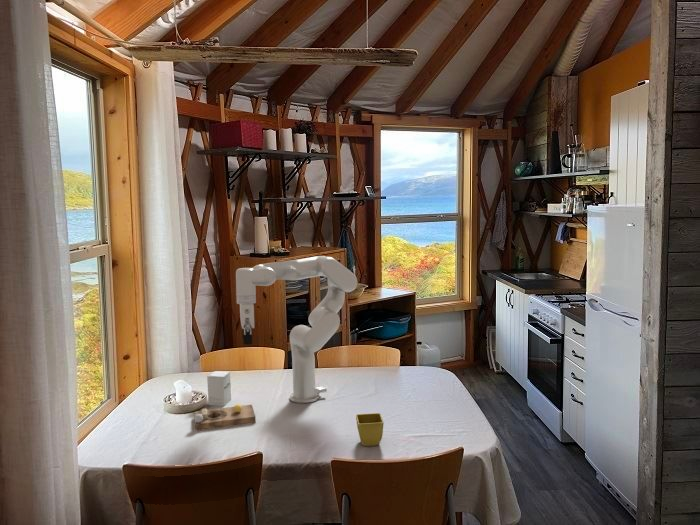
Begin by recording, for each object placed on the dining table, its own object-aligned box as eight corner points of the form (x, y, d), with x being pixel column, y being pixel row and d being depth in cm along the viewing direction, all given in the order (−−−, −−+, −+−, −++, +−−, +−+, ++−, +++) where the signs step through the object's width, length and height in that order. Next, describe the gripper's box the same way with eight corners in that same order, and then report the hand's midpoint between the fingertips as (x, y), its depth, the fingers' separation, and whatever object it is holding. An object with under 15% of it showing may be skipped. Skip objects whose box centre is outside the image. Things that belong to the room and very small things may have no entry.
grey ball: (203, 420, 204) (202, 412, 204) (203, 423, 201) (202, 415, 201) (194, 421, 203) (193, 413, 203) (194, 424, 200) (194, 416, 200)
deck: (252, 410, 219) (251, 399, 219) (255, 422, 207) (255, 411, 206) (195, 417, 213) (195, 406, 213) (195, 430, 201) (195, 419, 200)
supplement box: (224, 406, 225) (223, 376, 223) (208, 405, 226) (206, 376, 225) (231, 399, 232) (230, 371, 230) (215, 398, 233) (214, 370, 232)
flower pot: (356, 438, 192) (355, 413, 191) (380, 436, 192) (380, 412, 191) (358, 449, 183) (358, 424, 182) (384, 448, 184) (383, 422, 183)
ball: (241, 410, 213) (241, 402, 213) (242, 413, 210) (242, 405, 210) (233, 411, 212) (233, 403, 212) (234, 414, 209) (233, 406, 209)
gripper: (257, 302, 207) (258, 346, 208) (254, 295, 223) (255, 335, 225) (237, 303, 205) (238, 347, 207) (235, 296, 222) (236, 337, 223)
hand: (247, 341), depth 216 cm, fingers open, 9 cm apart
